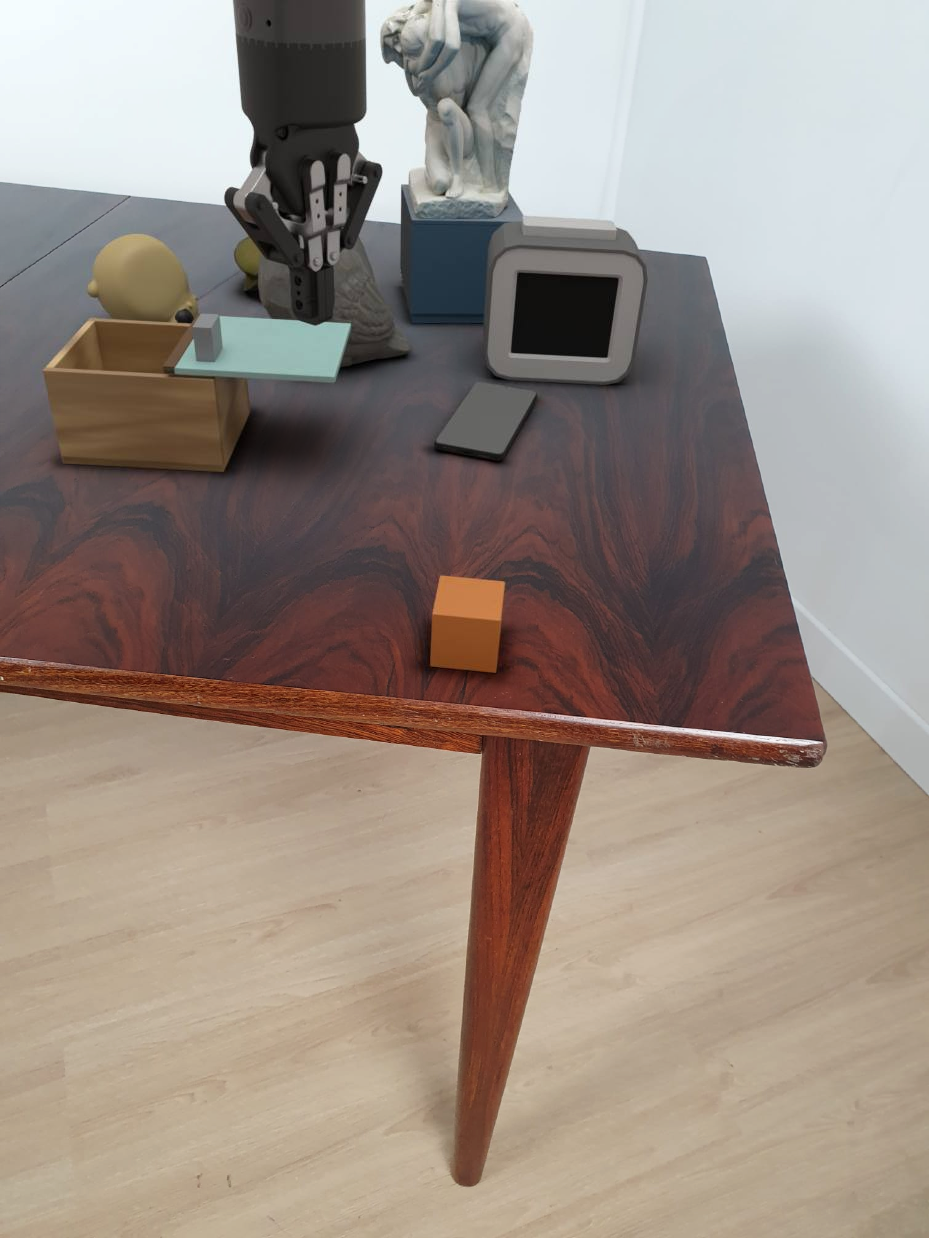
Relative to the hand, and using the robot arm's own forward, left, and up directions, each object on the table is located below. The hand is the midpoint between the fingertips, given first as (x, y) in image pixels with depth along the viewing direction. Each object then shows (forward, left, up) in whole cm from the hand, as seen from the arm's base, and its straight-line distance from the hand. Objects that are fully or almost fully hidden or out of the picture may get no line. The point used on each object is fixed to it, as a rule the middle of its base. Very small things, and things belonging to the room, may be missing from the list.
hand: (314, 320), depth 67 cm
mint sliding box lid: (+2, +19, -10) cm, 22 cm away
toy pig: (0, +51, -19) cm, 55 cm away
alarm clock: (+39, +25, -19) cm, 50 cm away
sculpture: (+37, +47, -19) cm, 63 cm away
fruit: (+18, +60, -19) cm, 66 cm away
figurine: (+17, +36, -19) cm, 44 cm away
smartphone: (+24, +14, -19) cm, 33 cm away
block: (+4, -16, -19) cm, 25 cm away
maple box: (-6, +24, -19) cm, 32 cm away
